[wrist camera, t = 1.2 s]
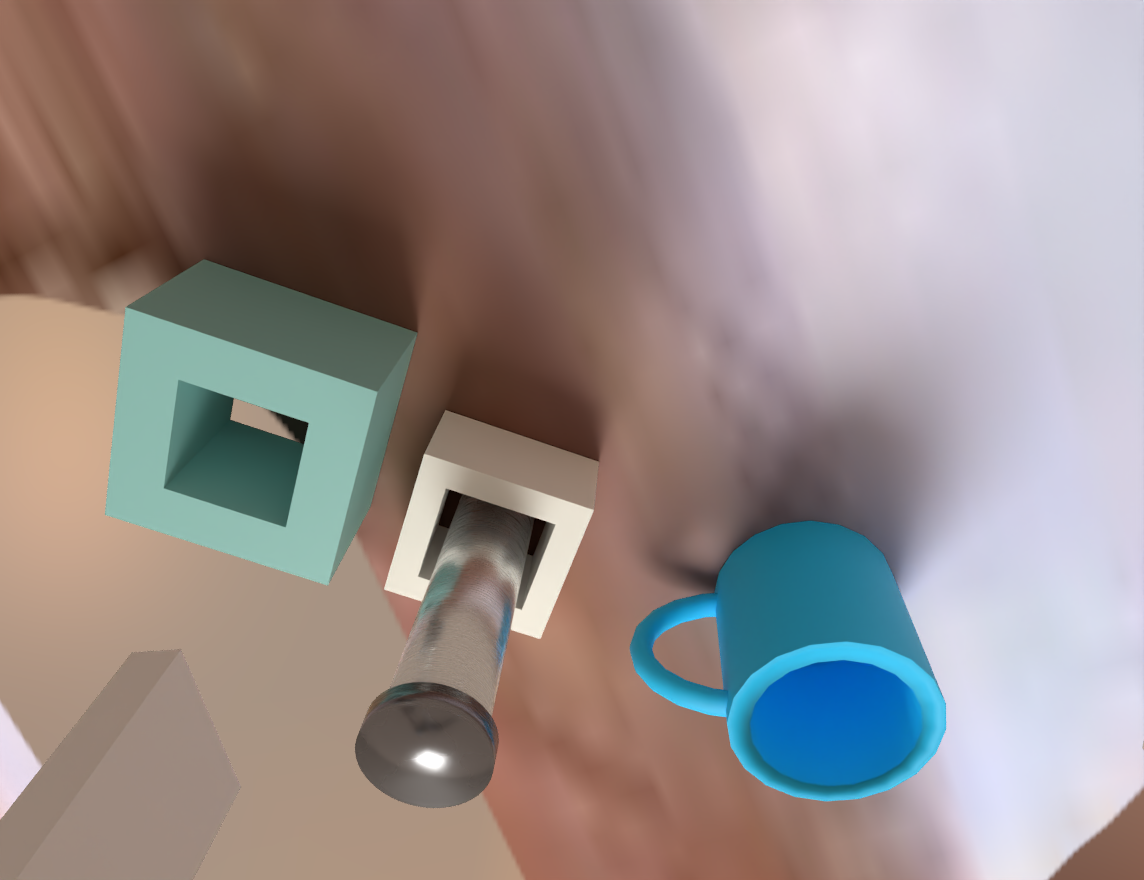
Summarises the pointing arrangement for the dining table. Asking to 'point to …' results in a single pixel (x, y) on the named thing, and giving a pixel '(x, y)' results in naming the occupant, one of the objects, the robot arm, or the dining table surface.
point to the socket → (239, 452)
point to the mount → (507, 479)
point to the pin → (450, 666)
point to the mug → (810, 664)
